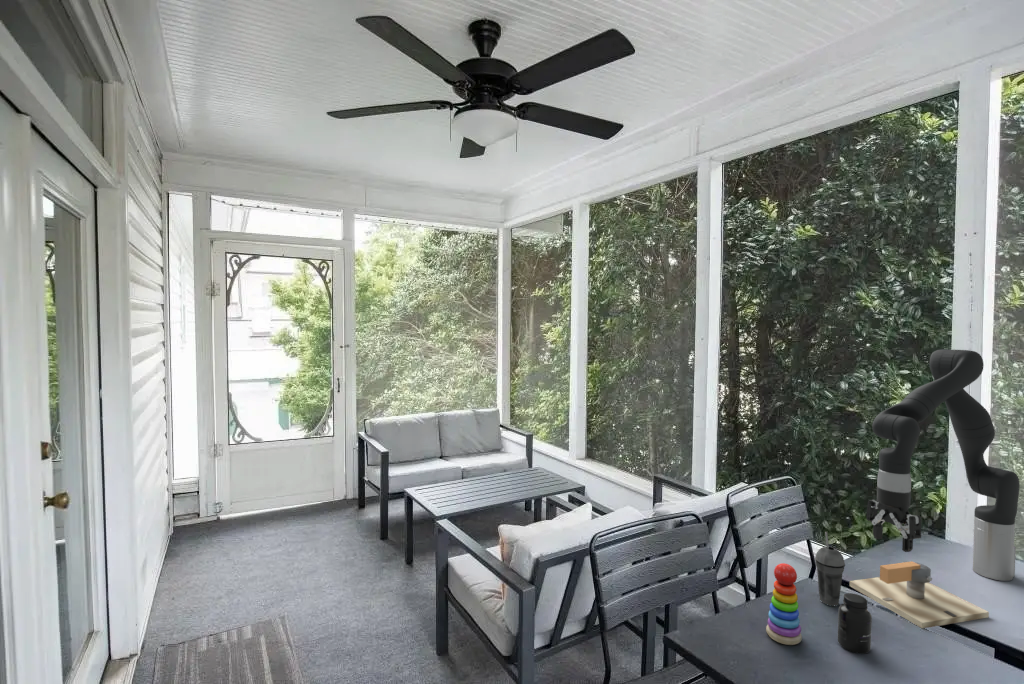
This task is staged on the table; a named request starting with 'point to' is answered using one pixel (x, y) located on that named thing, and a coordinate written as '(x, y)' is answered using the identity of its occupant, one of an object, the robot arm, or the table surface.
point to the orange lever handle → (905, 572)
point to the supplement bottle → (854, 624)
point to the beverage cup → (829, 573)
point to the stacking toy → (784, 607)
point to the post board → (920, 602)
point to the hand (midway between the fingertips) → (891, 544)
